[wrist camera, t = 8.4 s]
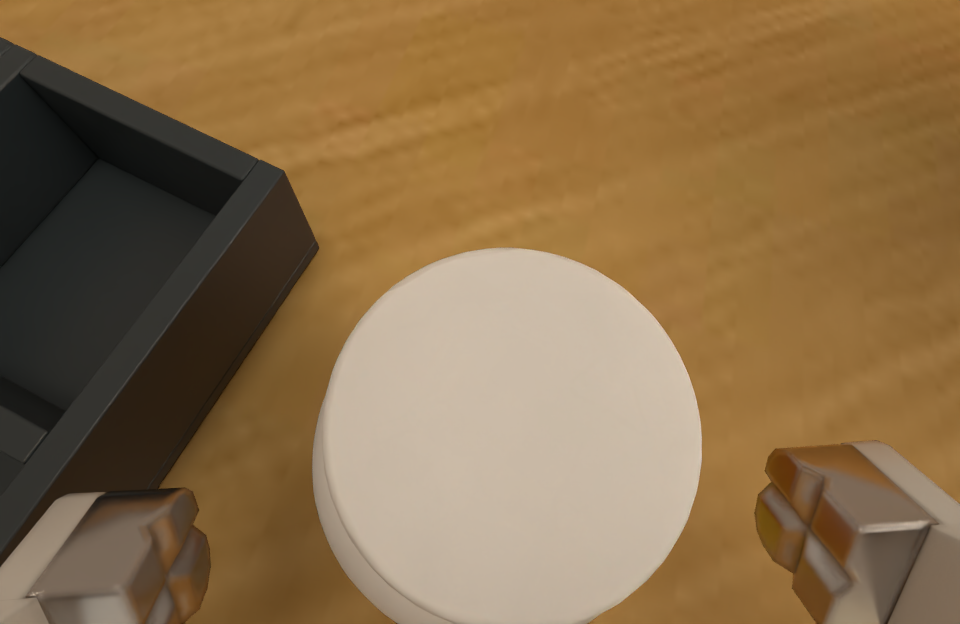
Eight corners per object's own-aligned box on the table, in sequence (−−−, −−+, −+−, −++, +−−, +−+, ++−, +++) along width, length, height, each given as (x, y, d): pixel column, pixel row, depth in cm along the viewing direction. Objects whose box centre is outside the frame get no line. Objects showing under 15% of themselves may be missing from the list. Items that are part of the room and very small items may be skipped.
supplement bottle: (605, 438, 15) (837, 321, 6) (516, 636, 14) (662, 868, 5) (434, 345, 16) (422, 119, 7) (327, 523, 14) (124, 531, 5)
